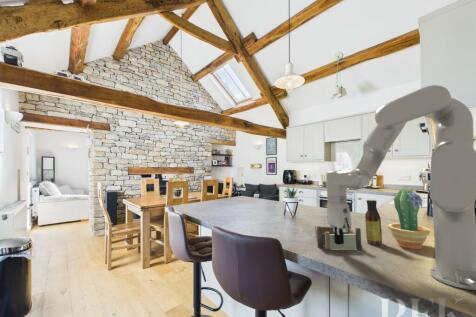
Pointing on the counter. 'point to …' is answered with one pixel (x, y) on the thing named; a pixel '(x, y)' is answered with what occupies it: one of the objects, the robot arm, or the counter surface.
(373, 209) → the sauce bottle
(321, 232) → the pen fence
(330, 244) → the gate
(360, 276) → the counter surface
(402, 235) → the potted cactus
